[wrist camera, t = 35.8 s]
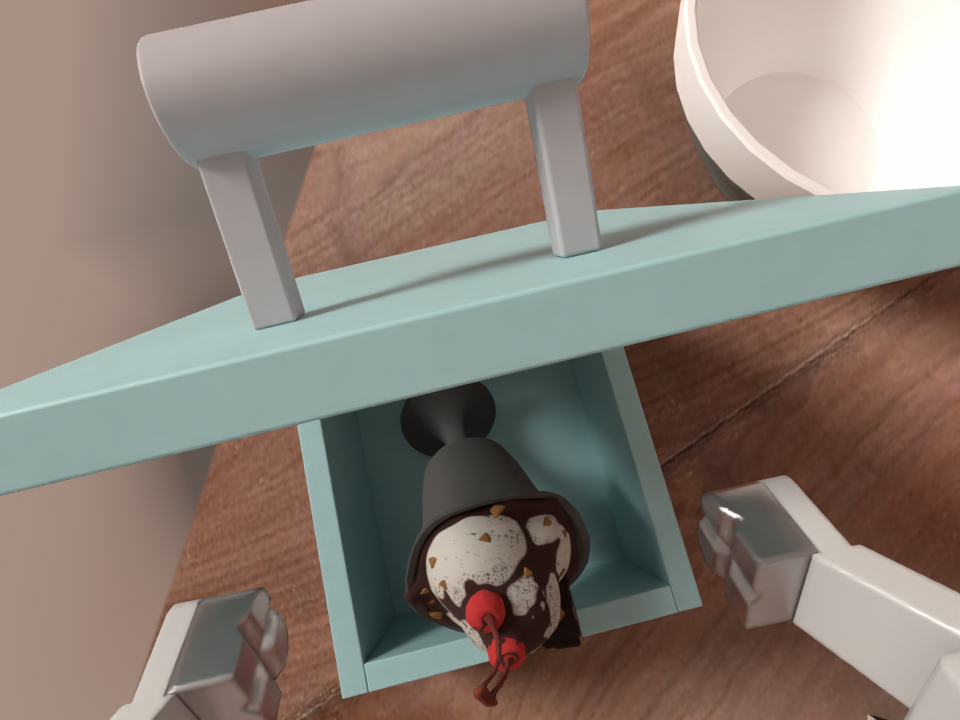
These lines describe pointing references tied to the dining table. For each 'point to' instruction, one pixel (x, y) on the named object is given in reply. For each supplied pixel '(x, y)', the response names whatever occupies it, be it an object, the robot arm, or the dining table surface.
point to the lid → (431, 271)
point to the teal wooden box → (551, 467)
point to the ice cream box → (874, 718)
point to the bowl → (821, 94)
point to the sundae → (489, 538)
